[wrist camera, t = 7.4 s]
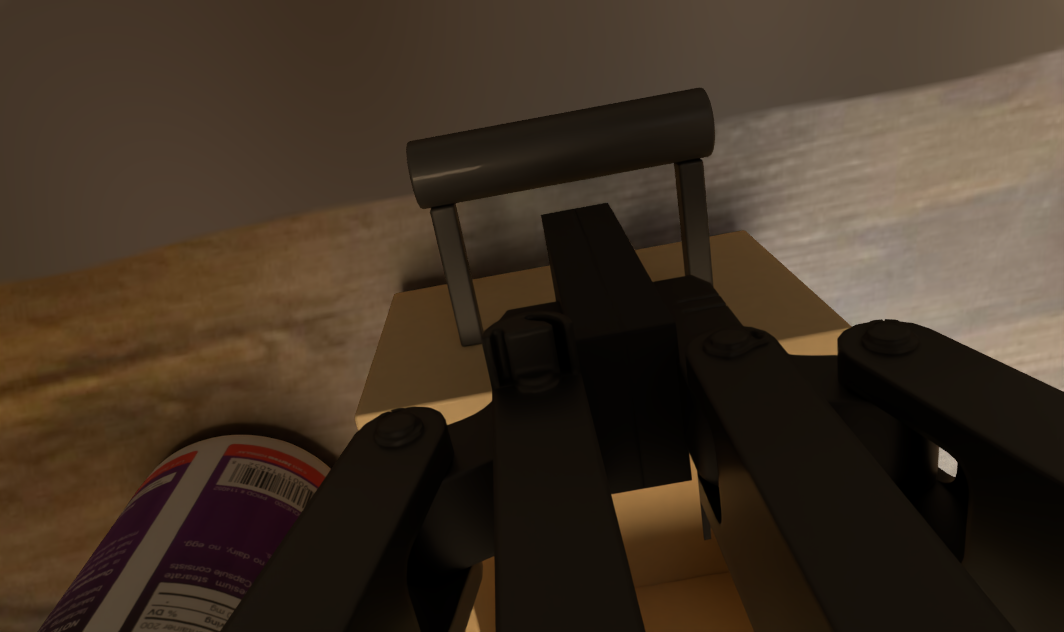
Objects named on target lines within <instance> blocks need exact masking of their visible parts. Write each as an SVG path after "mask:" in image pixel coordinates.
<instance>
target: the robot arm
mask: <svg viewBox="0 0 1064 632" xmlns="http://www.w3.org/2000/svg"><path fill="white" fill-rule="evenodd" d="M541 217H542V223H543V229H544V235H545V241H546V246H547V252H548V258H549V264H550V269H551V275H552V281H553V287H554V292H555V298H556V301H555V302H549V303H544V304H538V305H533V306H527V307H522V308H516V309H511V310H507V311H506V312H505V314H504V315H503V316H502V317H501V319H500V320H499V321H497V322H495V323H493V324H492V325H491V326H490V327H488V328H487V329H486V330H485V331H484V333H483V335H482V337H481V342H482V346H483V351H484V355H485V360H486V364H487V369H488V373H489V378H490V382H491V387H492V401H491V402H490V403H489V404H488V405H487V406H486V407H485V408H483V409H482V410H480V411H479V412H477V413H475V414H474V415H471V416H469V417H467V418H464V419H462V420H460V421H457V422H454V423H451V424H449V425H447V422H446V419H445V418H444V416H443V415H442V413H441V412H439V411H437V410H435V409H432V408H430V407H416V406H414V407H407V408H397V409H393V410H391V411H390V412H389V411H387V412H385V413H382V414H380V415H379V416H378V417H376V418H374V419H373V420H371V421H369V422H368V423H366V424H365V425H364V426H363V427H362V428H361V429H360V430H359V431H358V432H357V433H356V434H355V435H354V436H353V438H352V439H351V441H350V442H349V444H348V445H347V447H346V448H345V450H344V451H343V452H342V454H341V455H340V457H339V458H338V460H337V461H336V463H335V464H334V466H333V467H332V468H331V470H330V471H329V473H328V474H327V476H326V477H325V479H324V480H323V482H322V483H321V485H320V486H319V487H318V489H317V490H316V492H315V493H314V495H313V496H312V498H311V499H310V501H309V502H308V503H307V505H306V506H305V508H304V509H303V511H302V512H301V514H300V515H299V517H298V518H297V520H296V521H295V522H294V524H293V525H292V527H291V528H290V530H289V531H288V533H287V534H286V536H285V537H284V538H283V540H282V541H281V543H280V544H279V546H278V547H277V549H276V550H275V552H274V553H273V554H272V556H271V557H270V559H269V560H268V562H267V563H266V565H265V566H264V568H263V569H262V571H261V572H260V573H259V575H258V576H257V578H256V579H255V581H254V582H253V584H252V585H251V587H250V588H249V589H248V591H247V592H246V594H245V595H244V597H243V598H242V600H241V601H240V603H239V604H238V606H237V607H236V608H235V610H234V611H233V613H232V614H231V616H230V617H229V619H228V620H227V622H226V623H225V624H224V626H223V627H222V629H221V630H220V632H465V631H466V627H467V624H468V621H469V618H470V615H471V612H472V609H473V606H474V603H475V600H476V596H477V593H478V590H479V587H480V584H481V581H482V577H483V563H482V561H484V560H486V559H489V558H491V557H493V556H494V560H495V627H496V632H646V631H645V627H644V623H643V619H642V615H641V611H640V607H639V603H638V599H637V595H636V591H635V587H634V583H633V579H632V575H631V571H630V567H629V563H628V559H627V555H626V551H625V547H624V543H623V539H622V535H621V531H620V527H619V523H618V519H617V515H616V511H615V507H614V503H613V499H612V495H611V494H617V493H622V492H628V491H634V490H640V489H645V488H651V487H657V486H662V485H668V484H674V483H680V482H685V481H691V480H692V474H691V464H690V456H691V458H692V460H693V463H694V465H695V467H696V470H697V476H698V486H699V496H700V506H701V516H702V526H703V535H704V540H709V539H711V528H712V530H713V533H714V535H715V538H716V540H717V543H718V545H719V547H720V550H721V552H722V555H723V557H724V560H725V562H726V564H727V567H728V569H729V572H730V574H731V577H732V579H733V581H734V584H735V586H736V589H737V591H738V594H739V596H740V598H741V601H742V603H743V606H744V608H745V611H746V613H747V615H748V618H749V620H750V623H751V625H752V628H753V630H754V632H1064V392H1063V391H1061V390H1059V389H1056V388H1054V387H1052V386H1050V385H1048V384H1046V383H1044V382H1042V381H1039V380H1037V379H1035V378H1033V377H1031V376H1029V375H1027V374H1025V373H1023V372H1020V371H1018V370H1016V369H1014V368H1012V367H1010V366H1008V365H1006V364H1004V363H1001V362H999V361H997V360H995V359H993V358H991V357H989V356H987V355H984V354H982V353H980V352H978V351H976V350H974V349H972V348H970V347H968V346H965V345H963V344H961V343H959V342H957V341H955V340H953V339H951V338H949V337H946V336H944V335H942V334H940V333H938V332H936V331H934V330H932V329H929V328H926V327H923V326H920V325H917V324H914V323H907V322H900V321H898V320H889V319H885V321H883V320H873V321H870V322H868V323H863V324H858V325H855V326H853V327H851V328H848V329H846V330H844V331H843V332H842V333H841V335H840V336H839V337H838V338H837V355H792V354H788V353H787V351H786V350H785V349H784V348H783V347H782V345H781V344H780V343H779V342H778V340H777V339H776V338H775V337H773V336H772V335H771V334H769V333H768V332H766V331H764V330H760V329H757V328H754V327H747V326H743V325H742V324H741V322H740V321H739V320H738V318H737V317H736V316H735V315H734V313H733V312H732V311H731V309H730V308H729V307H728V305H727V306H726V303H725V301H724V300H723V299H722V297H721V296H719V294H718V292H717V291H716V290H715V288H714V287H713V286H712V284H711V283H710V282H708V281H705V280H703V279H701V278H698V277H696V276H694V275H687V276H682V277H676V278H671V279H665V280H660V281H654V282H652V280H651V278H650V276H649V275H648V273H647V271H646V269H645V268H644V266H643V264H642V262H641V261H640V259H639V257H638V255H637V254H636V252H635V250H634V248H633V246H632V245H631V243H630V241H629V239H628V238H627V236H626V234H625V232H624V231H623V229H622V227H621V225H620V224H619V222H618V220H617V218H616V216H615V215H614V213H613V211H612V209H611V208H610V206H609V204H608V203H603V204H598V205H592V206H587V207H581V208H576V209H571V210H565V211H560V212H554V213H549V214H543V215H541ZM939 447H940V448H942V449H943V450H945V451H946V452H948V453H949V454H950V455H951V456H952V457H953V458H954V459H956V461H957V462H958V465H957V474H956V477H953V476H951V475H949V474H947V473H946V472H944V471H943V470H941V469H940V468H939V467H938V457H939ZM689 454H690V455H689Z"/></svg>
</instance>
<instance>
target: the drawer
mask: <svg viewBox="0 0 1064 632" xmlns="http://www.w3.org/2000/svg"><path fill="white" fill-rule="evenodd" d="M714 143H715V126H714V117H713V112H712V107H711V103H710V100H709V98H708V95H707V93H706V92H705V90H704V89H703V88H695V89H690V90H685V91H679V92H673V93H668V94H662V95H657V96H652V97H646V98H641V99H636V100H630V101H625V102H619V103H614V104H608V105H603V106H598V107H592V108H588V109H582V110H576V111H571V112H566V113H561V114H555V115H549V116H544V117H538V118H533V119H528V120H522V121H517V122H512V123H506V124H501V125H496V126H491V127H485V128H479V129H474V130H468V131H463V132H458V133H452V134H447V135H442V136H436V137H431V138H425V139H420V140H415V141H410V142H408V143H407V149H406V150H407V151H406V153H407V163H408V169H409V174H410V179H411V183H412V187H413V191H414V194H415V197H416V200H417V203H418V204H419V206H420V208H422V209H426V208H431V211H430V214H431V218H432V222H433V226H434V231H435V235H436V239H437V244H438V248H439V252H440V256H441V261H442V265H443V269H444V274H445V278H446V282H447V284H445V285H440V286H434V287H429V288H423V289H418V290H412V291H407V292H401V293H396V294H394V297H393V300H392V303H391V306H390V309H389V313H388V316H387V319H386V322H385V325H384V328H383V331H382V334H381V337H380V340H379V343H378V346H377V350H376V353H375V356H374V359H373V362H372V365H371V368H370V371H369V374H368V377H367V380H366V384H365V387H364V390H363V393H362V396H361V399H360V402H359V405H358V408H357V411H356V414H355V422H356V425H357V428H358V431H359V430H360V429H361V428H362V427H363V426H364V425H365V424H366V423H368V422H369V421H371V420H373V419H374V418H376V417H378V416H379V415H380V414H382V413H385V412H387V411H389V412H390V411H391V410H393V409H397V408H407V407H414V406H416V407H430V408H432V409H435V410H437V411H439V412H441V413H442V415H443V416H444V418H445V419H446V422H447V425H449V424H451V423H454V422H457V421H460V420H462V419H464V418H467V417H469V416H471V415H474V414H475V413H477V412H479V411H480V410H482V409H483V408H485V407H486V406H487V405H488V404H489V403H490V402H491V401H492V387H491V382H490V378H489V373H488V369H487V364H486V360H485V355H484V351H483V346H482V342H481V337H482V335H483V333H484V331H485V330H486V329H487V328H488V327H490V326H491V325H492V324H493V323H495V322H497V321H499V320H500V319H501V317H502V316H503V315H504V314H505V312H506V311H507V310H511V309H516V308H522V307H527V306H533V305H538V304H544V303H549V302H555V301H556V298H555V292H554V287H553V281H552V275H551V269H550V266H544V267H539V268H533V269H528V270H522V271H517V272H511V273H506V274H500V275H495V276H489V277H484V278H478V279H473V280H472V276H471V271H470V267H469V262H468V257H467V253H466V248H465V244H464V239H463V234H462V230H461V225H460V221H459V216H458V212H457V207H456V203H459V202H464V201H470V200H475V199H481V198H486V197H492V196H497V195H503V194H508V193H513V192H519V191H524V190H530V189H535V188H541V187H546V186H551V185H557V184H562V183H568V182H573V181H579V180H584V179H590V178H595V177H600V176H606V175H611V174H617V173H622V172H628V171H633V170H639V169H644V168H649V167H655V166H660V165H666V164H671V163H674V169H675V179H676V189H677V199H678V210H679V220H680V230H681V240H682V242H676V243H671V244H665V245H660V246H654V247H649V248H643V249H638V250H635V252H636V254H637V255H638V257H639V259H640V261H641V262H642V264H643V266H644V268H645V269H646V271H647V273H648V275H649V276H650V278H651V280H652V282H654V281H660V280H665V279H671V278H676V277H682V276H687V275H694V276H696V277H698V278H701V279H703V280H705V281H708V282H710V283H711V284H712V286H713V287H714V288H715V290H716V291H717V292H718V294H719V296H721V297H722V299H723V300H724V301H725V303H726V306H727V305H728V307H729V308H730V309H731V311H732V312H733V313H734V315H735V316H736V317H737V318H738V320H739V321H740V322H741V324H742V325H743V326H747V327H754V328H757V329H760V330H764V331H766V332H768V333H769V334H771V335H772V336H773V337H775V338H776V339H777V340H778V342H779V343H780V344H781V345H782V347H783V348H784V349H785V350H786V351H787V353H788V354H792V355H837V338H838V337H839V336H840V335H841V333H842V332H843V331H844V330H846V329H848V328H851V327H852V326H850V325H849V324H848V323H847V322H846V321H845V320H844V319H843V318H842V317H840V316H839V315H838V314H837V313H836V312H835V311H834V310H833V309H832V308H831V307H829V306H828V305H827V304H826V303H825V302H824V301H823V300H822V299H821V298H819V297H818V296H817V295H816V294H815V293H814V292H813V291H812V290H811V289H809V288H808V287H807V286H806V285H805V284H804V283H803V282H802V281H801V280H799V279H798V278H797V277H796V276H795V275H794V274H793V273H792V272H791V271H789V270H788V269H787V268H786V267H785V266H784V265H783V264H782V263H781V262H779V261H778V260H777V259H776V258H775V257H774V256H773V255H772V254H771V253H769V252H768V251H767V250H766V249H765V248H764V247H763V246H762V245H761V244H759V243H758V242H757V241H756V240H755V239H754V238H753V237H752V236H751V235H749V234H748V233H747V232H746V231H744V230H742V231H737V232H731V233H726V234H720V235H715V236H709V226H708V214H707V202H706V190H705V178H704V166H703V161H702V160H701V159H700V158H704V157H708V156H710V155H711V154H712V152H713V149H714ZM689 455H690V454H689ZM690 464H691V474H692V480H691V481H685V482H680V483H674V484H668V485H662V486H657V487H651V488H645V489H640V490H634V491H628V492H622V493H617V494H611V495H612V499H613V503H614V507H615V511H616V515H617V519H618V523H619V527H620V531H621V535H622V539H623V543H624V547H625V551H626V555H627V559H628V563H629V567H630V571H631V575H632V579H633V583H634V587H635V591H636V595H637V599H638V603H639V607H640V611H641V615H642V619H643V623H644V627H645V631H646V632H754V630H753V628H752V625H751V623H750V620H749V618H748V615H747V613H746V611H745V608H744V606H743V603H742V601H741V598H740V596H739V594H738V591H737V589H736V586H735V584H734V581H733V579H732V577H731V574H730V572H729V569H728V567H727V564H726V562H725V560H724V557H723V555H722V552H721V550H720V547H719V545H718V543H717V540H716V538H715V535H714V533H713V530H712V528H711V539H709V540H704V535H703V526H702V516H701V506H700V496H699V486H698V476H697V470H696V467H695V465H694V463H693V460H692V458H691V456H690ZM482 563H483V577H482V581H481V584H480V587H479V590H478V593H477V596H476V600H475V603H474V606H473V609H472V612H471V615H470V618H469V621H468V624H467V627H466V631H465V632H496V627H495V560H494V556H493V557H491V558H489V559H486V560H484V561H482Z"/></svg>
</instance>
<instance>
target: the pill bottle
mask: <svg viewBox="0 0 1064 632" xmlns="http://www.w3.org/2000/svg"><path fill="white" fill-rule="evenodd" d="M330 470H331V469H330V468H329V467H328V466H327V465H326V464H325V463H323V462H322V461H321V460H320V459H318V458H317V457H316V456H314V455H312V454H311V453H309V452H307V451H305V450H304V449H302V448H300V447H298V446H295V445H293V444H291V443H288V442H285V441H282V440H278V439H274V438H269V437H264V436H255V435H226V436H219V437H214V438H210V439H206V440H202V441H199V442H196V443H194V444H191V445H189V446H186V447H184V448H182V449H181V450H179V451H177V452H175V453H174V454H172V455H171V456H169V457H168V458H167V459H165V460H164V461H163V462H162V463H161V464H159V465H158V466H157V467H156V468H155V469H154V470H153V471H152V473H151V474H150V475H149V476H148V477H147V479H146V480H145V481H144V483H143V484H142V485H141V486H140V488H139V489H138V490H137V492H136V493H135V495H134V496H133V497H132V499H131V500H130V502H129V503H128V505H127V506H126V508H125V509H124V511H123V512H122V513H121V515H120V516H119V518H118V519H117V521H116V522H115V524H114V525H113V526H112V527H111V529H110V531H109V532H108V533H107V535H106V536H105V538H104V539H103V540H102V542H101V543H100V545H99V546H98V547H97V549H96V550H95V552H94V553H93V554H92V556H91V557H90V559H89V560H88V562H87V563H86V564H85V566H84V567H83V569H82V570H81V571H80V573H79V574H78V576H77V577H76V579H75V580H74V581H73V583H72V584H71V586H70V587H69V588H68V590H67V591H66V593H65V594H64V595H63V597H62V598H61V600H60V601H59V602H58V604H57V605H56V607H55V608H54V609H53V611H52V612H51V613H50V615H49V616H48V618H47V619H46V621H45V622H44V623H43V625H42V626H41V628H40V629H39V630H38V632H220V630H221V629H222V627H223V626H224V624H225V623H226V622H227V620H228V619H229V617H230V616H231V614H232V613H233V611H234V610H235V608H236V607H237V606H238V604H239V603H240V601H241V600H242V598H243V597H244V595H245V594H246V592H247V591H248V589H249V588H250V587H251V585H252V584H253V582H254V581H255V579H256V578H257V576H258V575H259V573H260V572H261V571H262V569H263V568H264V566H265V565H266V563H267V562H268V560H269V559H270V557H271V556H272V554H273V553H274V552H275V550H276V549H277V547H278V546H279V544H280V543H281V541H282V540H283V538H284V537H285V536H286V534H287V533H288V531H289V530H290V528H291V527H292V525H293V524H294V522H295V521H296V520H297V518H298V517H299V515H300V514H301V512H302V511H303V509H304V508H305V506H306V505H307V503H308V502H309V501H310V499H311V498H312V496H313V495H314V493H315V492H316V490H317V489H318V487H319V486H320V485H321V483H322V482H323V480H324V479H325V477H326V476H327V474H328V473H329V471H330Z"/></svg>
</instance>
